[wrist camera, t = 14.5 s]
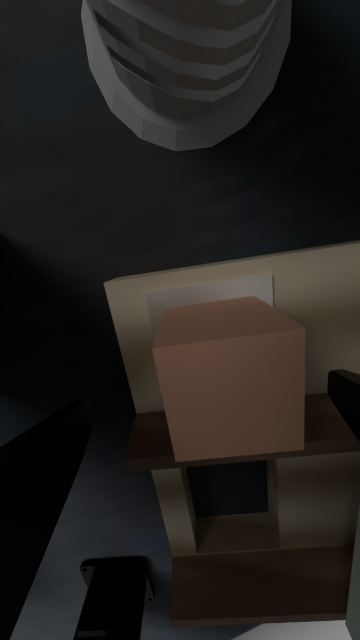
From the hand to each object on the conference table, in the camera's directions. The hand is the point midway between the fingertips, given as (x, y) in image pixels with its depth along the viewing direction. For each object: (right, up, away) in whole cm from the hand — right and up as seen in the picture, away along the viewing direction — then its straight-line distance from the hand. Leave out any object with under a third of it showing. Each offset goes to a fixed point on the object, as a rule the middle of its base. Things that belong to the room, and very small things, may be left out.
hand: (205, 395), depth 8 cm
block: (+1, +2, +4) cm, 4 cm away
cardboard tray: (+6, -4, +8) cm, 11 cm away
